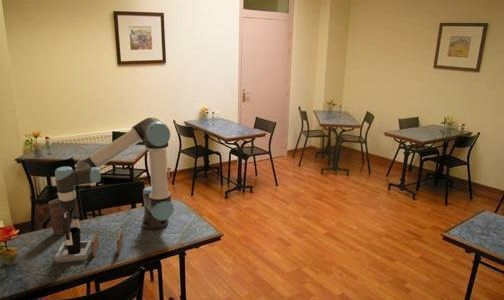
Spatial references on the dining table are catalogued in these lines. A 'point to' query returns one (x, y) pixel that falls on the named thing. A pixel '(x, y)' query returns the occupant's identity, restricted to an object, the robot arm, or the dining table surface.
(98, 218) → the dining table surface
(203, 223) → the dining table surface
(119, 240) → the beige holder
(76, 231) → the cup
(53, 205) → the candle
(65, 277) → the dining table surface
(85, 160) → the robot arm
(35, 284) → the dining table surface
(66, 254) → the dock
